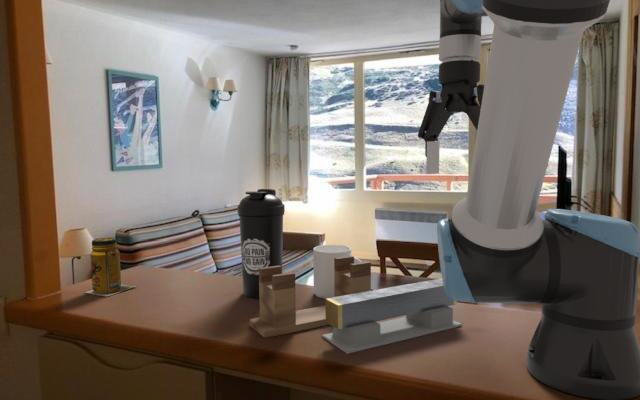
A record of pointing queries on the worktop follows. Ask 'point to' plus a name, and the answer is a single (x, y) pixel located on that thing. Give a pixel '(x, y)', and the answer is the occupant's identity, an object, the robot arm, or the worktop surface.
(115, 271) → the condiment
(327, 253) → the mug
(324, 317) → the rack
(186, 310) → the worktop surface
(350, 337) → the rest
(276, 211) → the water bottle
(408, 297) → the rail
